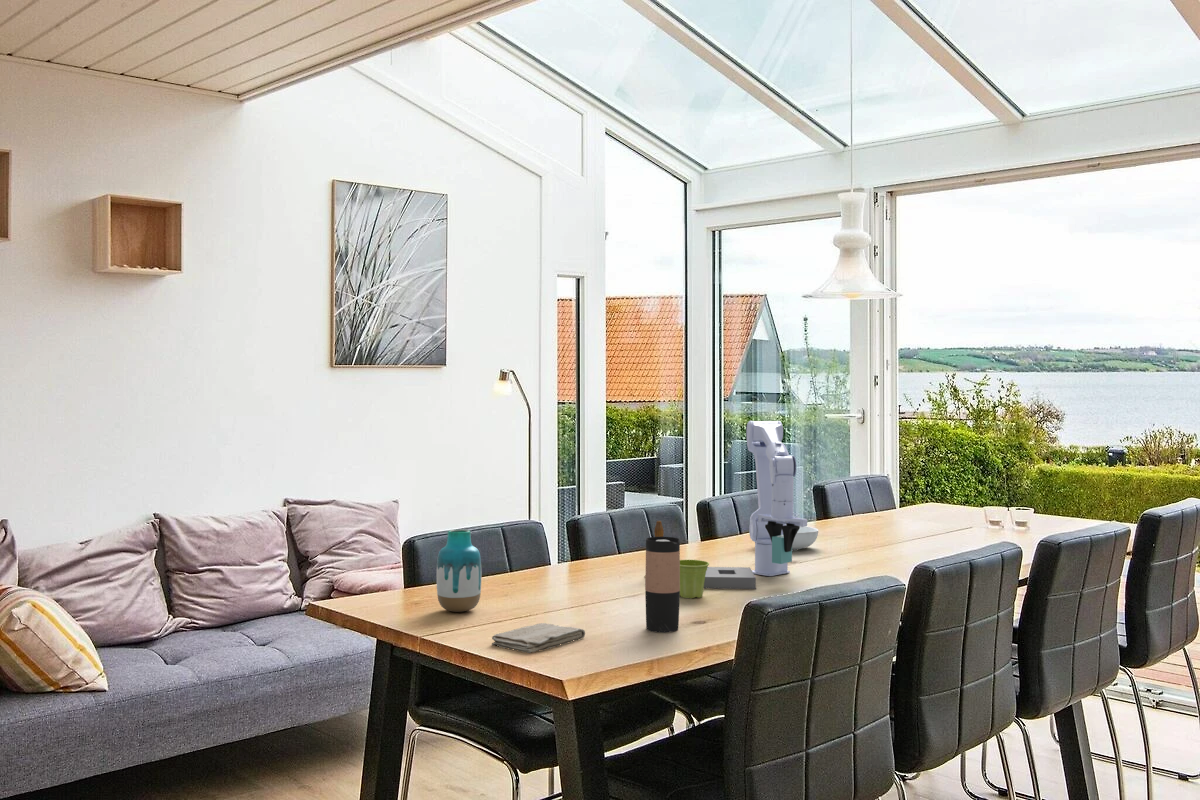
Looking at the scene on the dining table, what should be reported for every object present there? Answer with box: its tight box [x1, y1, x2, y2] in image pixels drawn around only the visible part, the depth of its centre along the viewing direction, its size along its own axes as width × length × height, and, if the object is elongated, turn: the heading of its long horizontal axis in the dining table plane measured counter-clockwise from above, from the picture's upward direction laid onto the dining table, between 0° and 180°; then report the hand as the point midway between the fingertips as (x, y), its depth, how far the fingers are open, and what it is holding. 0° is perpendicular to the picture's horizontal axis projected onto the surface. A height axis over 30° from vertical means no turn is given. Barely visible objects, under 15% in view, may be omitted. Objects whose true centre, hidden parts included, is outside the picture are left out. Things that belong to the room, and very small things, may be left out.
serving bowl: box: [792, 525, 819, 551], centre depth 360 cm, size 21×21×7 cm
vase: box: [436, 529, 482, 613], centre depth 259 cm, size 11×11×19 cm
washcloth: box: [491, 622, 586, 654], centre depth 230 cm, size 12×18×3 cm, turn 144°
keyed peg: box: [772, 535, 793, 564], centre depth 294 cm, size 5×3×7 cm, turn 136°
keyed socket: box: [703, 566, 757, 590], centre depth 298 cm, size 16×14×3 cm
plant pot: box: [680, 559, 710, 599], centre depth 279 cm, size 9×9×9 cm
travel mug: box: [644, 536, 681, 633], centre depth 242 cm, size 8×8×20 cm
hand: (782, 550), depth 294 cm, fingers closed on keyed peg, 3 cm apart
